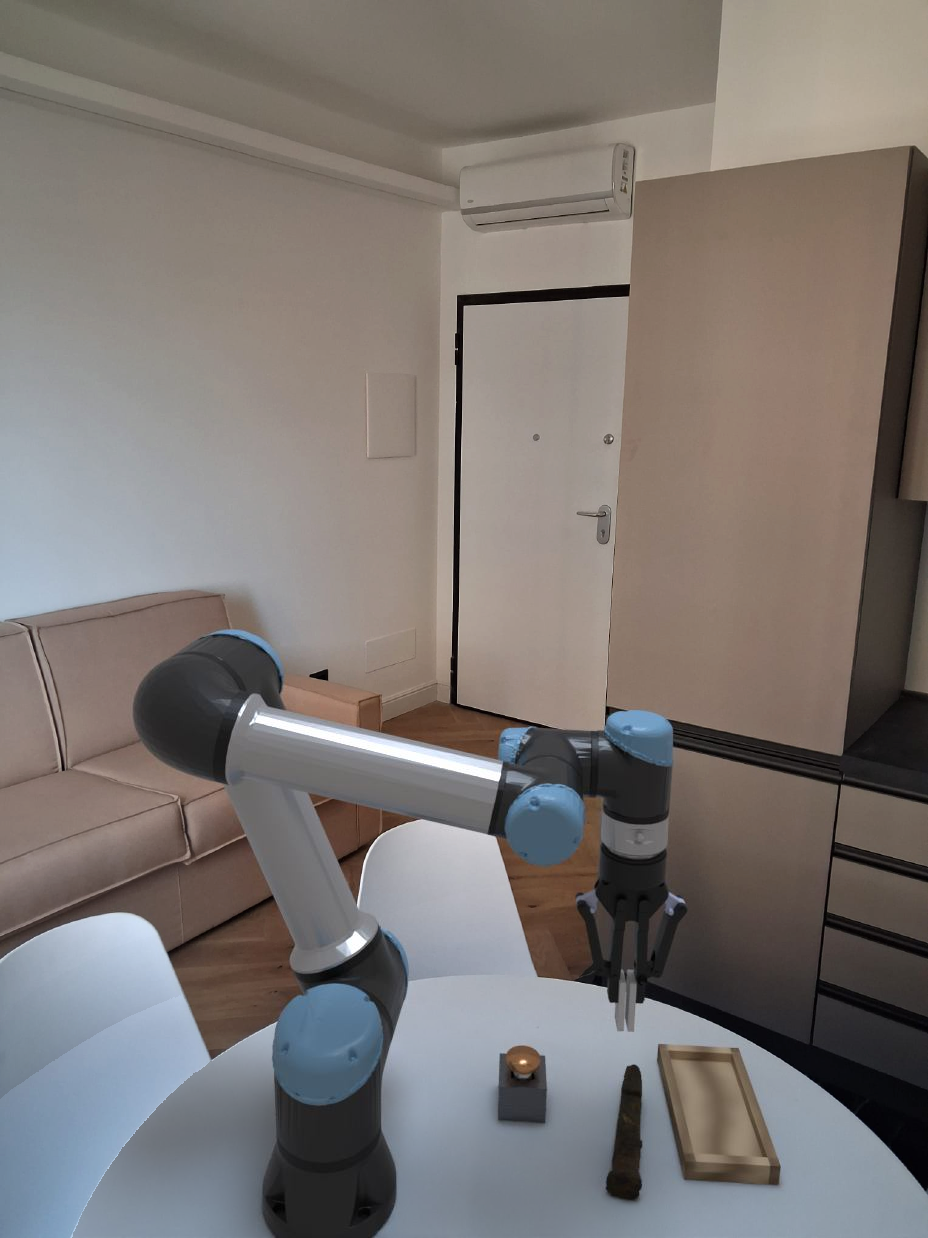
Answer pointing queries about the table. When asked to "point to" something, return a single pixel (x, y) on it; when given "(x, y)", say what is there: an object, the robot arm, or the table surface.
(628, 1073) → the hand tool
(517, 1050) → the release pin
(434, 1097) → the table surface
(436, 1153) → the table surface
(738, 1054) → the tray
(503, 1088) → the socket block
